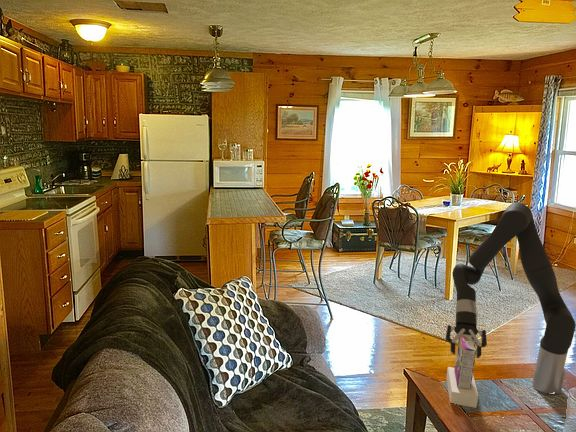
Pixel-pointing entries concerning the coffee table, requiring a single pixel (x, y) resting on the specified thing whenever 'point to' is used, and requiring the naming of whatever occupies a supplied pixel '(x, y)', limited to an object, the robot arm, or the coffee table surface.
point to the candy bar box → (465, 361)
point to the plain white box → (461, 391)
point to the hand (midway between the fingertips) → (465, 355)
